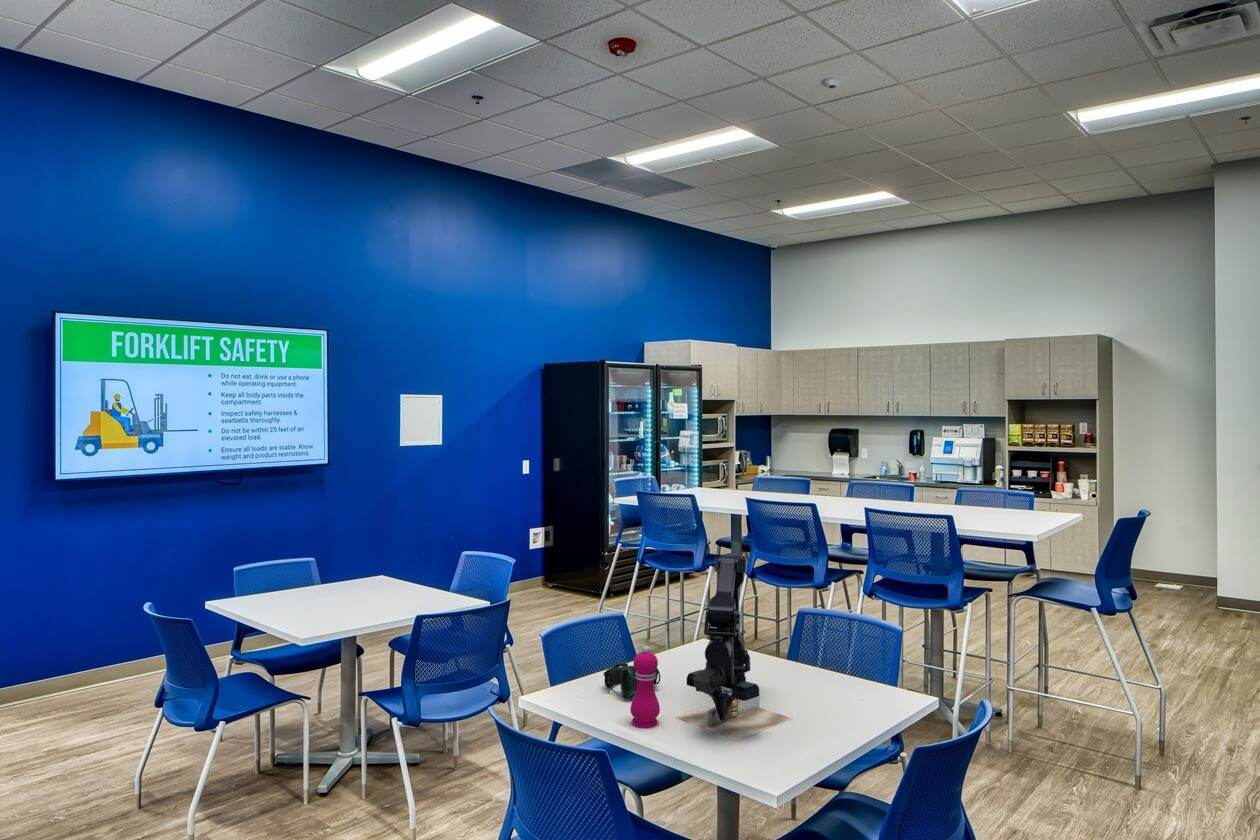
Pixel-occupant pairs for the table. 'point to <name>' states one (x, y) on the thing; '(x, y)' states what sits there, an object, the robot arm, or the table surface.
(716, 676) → the robot arm
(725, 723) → the board
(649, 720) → the pepper mill
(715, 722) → the swing leaf
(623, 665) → the headphones
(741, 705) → the fixed leaf
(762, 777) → the table surface
